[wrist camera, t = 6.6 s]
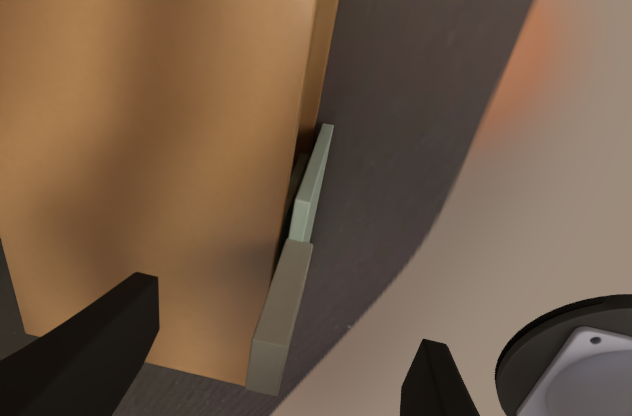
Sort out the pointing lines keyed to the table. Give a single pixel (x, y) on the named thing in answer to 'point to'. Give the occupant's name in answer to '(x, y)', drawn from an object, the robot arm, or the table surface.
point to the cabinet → (157, 159)
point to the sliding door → (287, 280)
